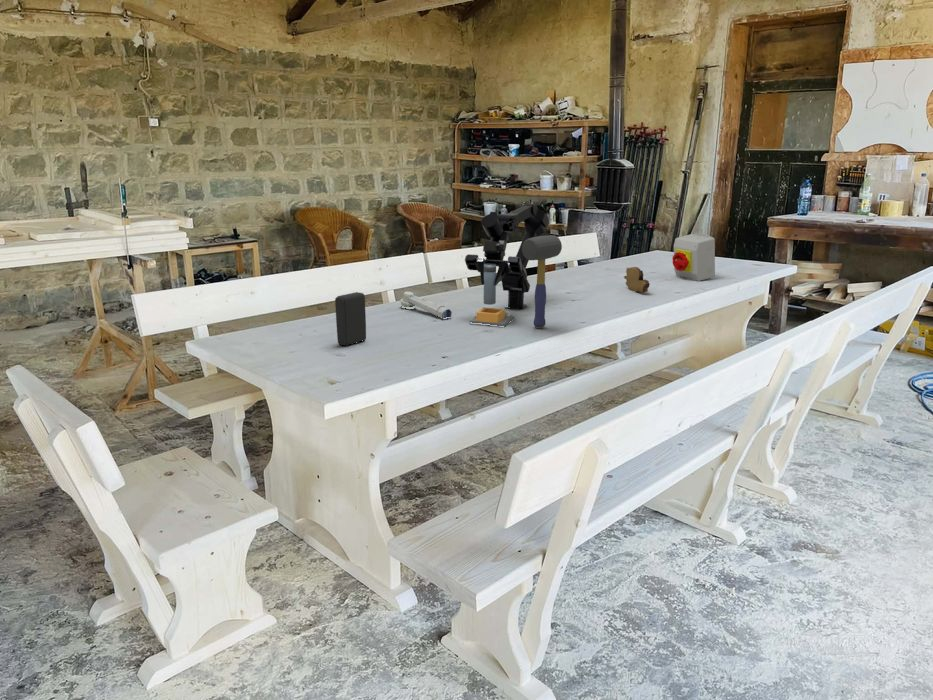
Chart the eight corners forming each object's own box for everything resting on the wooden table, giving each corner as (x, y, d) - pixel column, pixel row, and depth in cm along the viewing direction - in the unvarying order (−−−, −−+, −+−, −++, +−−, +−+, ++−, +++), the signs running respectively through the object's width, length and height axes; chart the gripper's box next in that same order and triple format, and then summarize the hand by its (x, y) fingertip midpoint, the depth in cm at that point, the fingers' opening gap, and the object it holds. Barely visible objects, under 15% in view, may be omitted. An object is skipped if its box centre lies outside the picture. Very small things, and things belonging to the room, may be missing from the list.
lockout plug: (482, 301, 233) (482, 263, 229) (494, 301, 233) (495, 263, 230) (484, 304, 229) (484, 265, 225) (496, 304, 230) (497, 265, 226)
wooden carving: (652, 295, 276) (654, 270, 273) (643, 296, 274) (645, 271, 271) (628, 287, 291) (630, 263, 288) (619, 288, 289) (621, 264, 286)
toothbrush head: (442, 310, 235) (398, 288, 252) (440, 328, 238) (397, 306, 254) (453, 307, 238) (409, 287, 255) (452, 325, 241) (408, 304, 258)
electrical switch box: (665, 281, 314) (664, 237, 307) (691, 274, 319) (690, 231, 312) (688, 287, 301) (687, 242, 294) (715, 279, 306) (714, 235, 299)
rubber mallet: (543, 322, 234) (546, 233, 225) (560, 326, 229) (564, 235, 220) (517, 329, 226) (520, 236, 217) (535, 333, 221) (538, 238, 212)
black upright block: (359, 338, 215) (356, 291, 210) (368, 340, 212) (366, 292, 208) (336, 345, 208) (333, 296, 204) (345, 347, 206) (342, 297, 201)
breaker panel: (482, 316, 242) (482, 304, 241) (514, 319, 238) (515, 307, 237) (469, 324, 232) (469, 311, 231) (503, 327, 228) (504, 315, 226)
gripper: (466, 230, 231) (456, 269, 224) (521, 232, 225) (512, 272, 219) (473, 250, 240) (463, 288, 233) (525, 252, 235) (517, 291, 228)
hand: (488, 284), depth 228 cm, fingers closed on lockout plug, 4 cm apart
